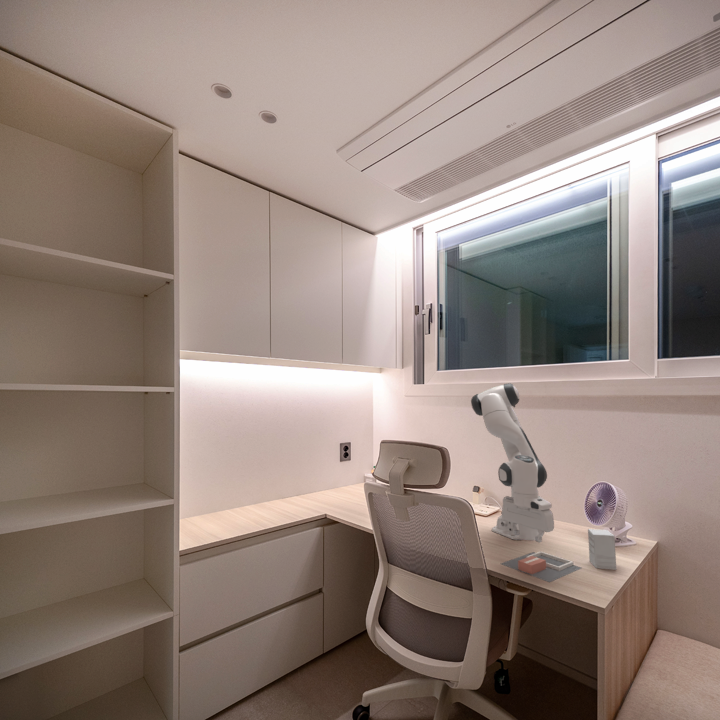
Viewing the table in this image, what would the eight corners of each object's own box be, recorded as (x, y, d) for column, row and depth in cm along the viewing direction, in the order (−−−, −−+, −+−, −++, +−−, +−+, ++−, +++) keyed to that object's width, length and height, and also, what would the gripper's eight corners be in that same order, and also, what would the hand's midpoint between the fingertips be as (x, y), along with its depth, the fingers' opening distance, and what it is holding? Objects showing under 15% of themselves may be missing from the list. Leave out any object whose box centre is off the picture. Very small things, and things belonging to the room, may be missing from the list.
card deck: (531, 574, 151) (531, 565, 151) (518, 569, 155) (518, 560, 155) (546, 568, 156) (545, 560, 156) (532, 564, 160) (532, 555, 160)
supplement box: (609, 563, 162) (608, 529, 163) (617, 571, 155) (615, 535, 156) (588, 561, 164) (587, 528, 165) (594, 569, 157) (593, 534, 158)
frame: (526, 559, 165) (526, 556, 165) (540, 554, 170) (540, 551, 170) (559, 570, 154) (559, 567, 154) (573, 565, 159) (573, 561, 160)
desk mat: (500, 564, 160) (499, 563, 160) (533, 553, 173) (533, 552, 173) (549, 583, 144) (549, 582, 144) (582, 568, 157) (582, 567, 157)
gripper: (497, 495, 165) (498, 532, 164) (545, 506, 148) (546, 547, 147) (508, 494, 169) (509, 529, 167) (555, 504, 152) (557, 544, 150)
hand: (527, 538), depth 157 cm, fingers open, 8 cm apart
